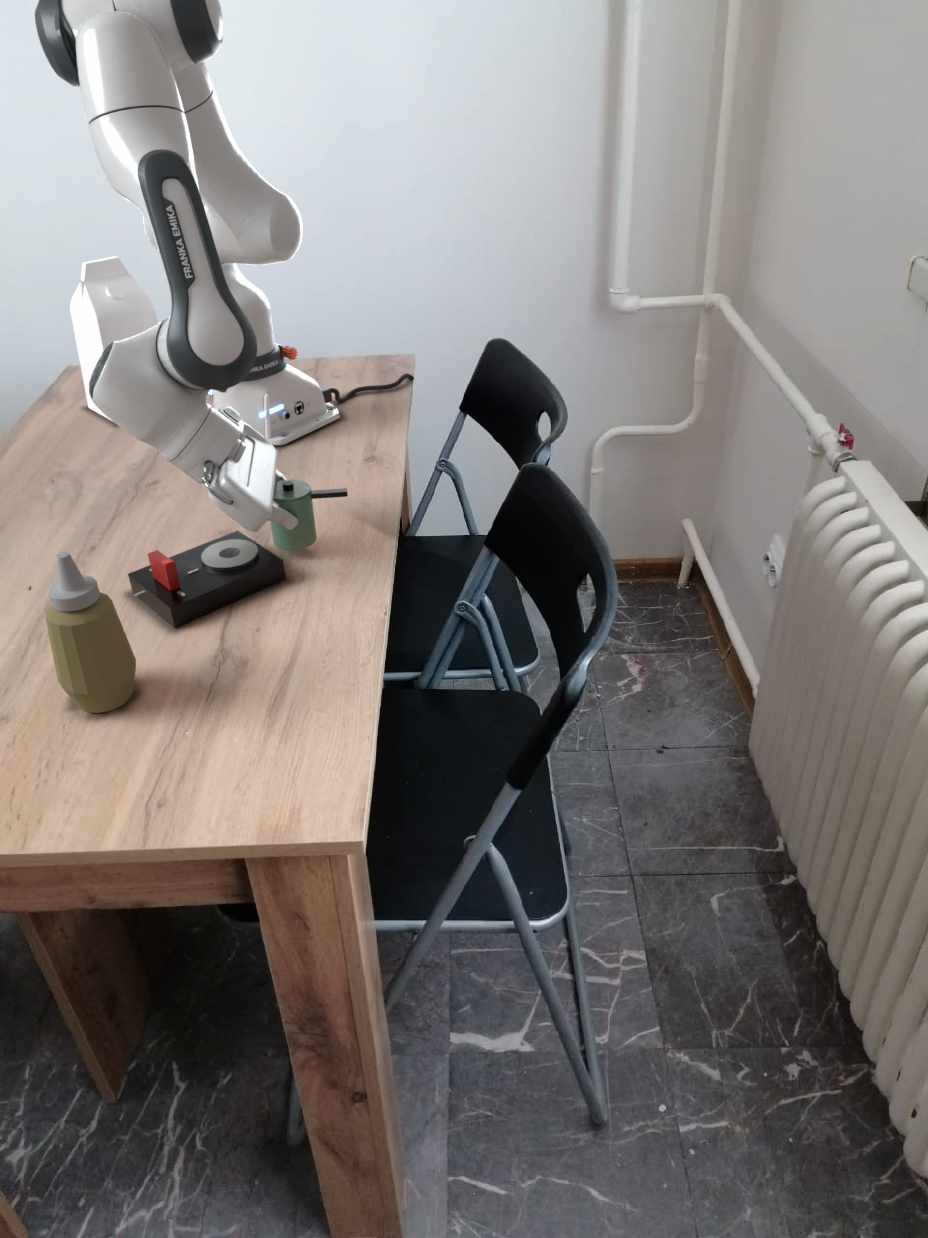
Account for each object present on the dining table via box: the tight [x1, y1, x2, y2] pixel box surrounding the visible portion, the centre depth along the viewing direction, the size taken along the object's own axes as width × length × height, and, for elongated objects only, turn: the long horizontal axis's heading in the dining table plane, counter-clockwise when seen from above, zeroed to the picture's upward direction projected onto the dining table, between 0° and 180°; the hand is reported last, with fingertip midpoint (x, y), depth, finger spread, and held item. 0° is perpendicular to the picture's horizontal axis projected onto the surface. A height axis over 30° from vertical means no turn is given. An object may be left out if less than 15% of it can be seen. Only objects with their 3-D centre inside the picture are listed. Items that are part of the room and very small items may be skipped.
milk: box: [69, 255, 159, 422], centre depth 166 cm, size 12×12×26 cm
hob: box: [127, 530, 287, 629], centre depth 120 cm, size 18×11×3 cm, turn 133°
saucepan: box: [270, 479, 349, 551], centre depth 126 cm, size 9×8×8 cm
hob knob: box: [147, 549, 181, 591], centre depth 115 cm, size 4×1×4 cm, turn 43°
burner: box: [201, 539, 258, 571], centre depth 121 cm, size 7×7×1 cm
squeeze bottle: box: [45, 551, 137, 714], centre depth 98 cm, size 8×8×18 cm
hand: (296, 511), depth 125 cm, fingers closed on saucepan, 6 cm apart
